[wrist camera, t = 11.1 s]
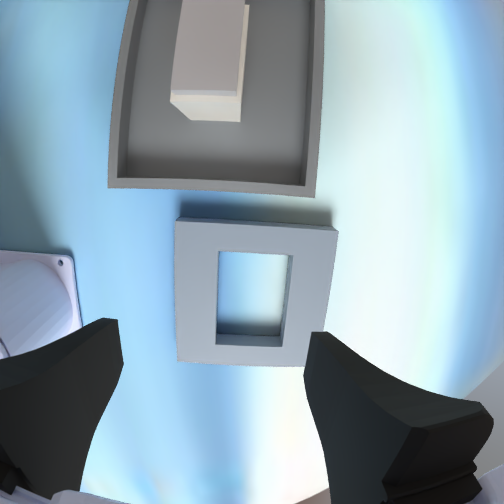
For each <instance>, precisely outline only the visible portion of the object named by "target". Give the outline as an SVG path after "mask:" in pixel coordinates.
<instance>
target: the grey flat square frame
mask: <svg viewBox="0 0 504 504" xmlns="http://www.w3.org/2000/svg"><path fill="white" fill-rule="evenodd" d="M338 232H339V231H337V230H336V229H335V228H333V227H331V226H318V225H304V224H290V223H276V222H260V221H244V220H226V219H208V218H187V217H179V218H178V219H177V220H176V221H175V243H174V274H175V320H176V344H177V361H179V362H190V363H203V364H219V365H238V366H273V367H305V364H306V359H307V354H308V348H309V343H310V337H311V332H323V328H324V323H325V317H326V312H327V306H328V300H329V294H330V288H331V282H332V275H333V269H334V262H335V255H336V247H337V240H338ZM219 251H225V252H243V253H261V254H279V255H289V261H288V271H287V280H286V289H285V298H284V306H283V314H282V323H281V331H280V336H254V335H232V334H217V301H218V273H219Z"/></svg>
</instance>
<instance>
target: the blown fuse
mask: <svg viewBox="0 0 504 504" xmlns="http://www.w3.org/2000/svg"><path fill="white" fill-rule="evenodd" d="M248 18H249V5H245V0H183V2H182V8H181V14H180V20H179V26H178V33H177V40H176V47H175V54H174V62H173V70H172V79H171V88H170V90H171V96H170V102H171V103H172V104H173V105H174V106H175V107H176V108H178V109H179V110H180V111H181V112H182V113H183V114H184V115H185V116H187V117H188V118H189V119H190V120H205V121H230V122H240V119H241V106H242V94H243V81H244V69H245V57H246V45H247V31H248Z"/></svg>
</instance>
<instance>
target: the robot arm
mask: <svg viewBox="0 0 504 504" xmlns="http://www.w3.org/2000/svg"><path fill="white" fill-rule="evenodd" d="M60 259H61V260H62V261H63V264H61V262H60ZM123 365H124V362H123V356H122V350H121V343H120V335H119V328H118V319H110V318H101V319H98V320H96V321H94V322H92V323H90V324H88V325H86V326H84V327H82V323H81V317H80V311H79V304H78V297H77V290H76V281H75V272H74V262H73V259H72V258H71V257H70V256H68V255H57V254H44V253H32V252H20V251H7V250H0V504H129V503H124V502H120V501H116V500H111V499H107V498H104V497H100V496H96V495H93V494H89V493H83V492H79V491H80V485H81V480H82V475H83V471H84V466H85V462H86V459H87V455H88V451H89V448H90V445H91V441H92V438H93V435H94V432H95V430H96V427H97V425H98V423H99V421H100V419H101V417H102V415H103V413H104V411H105V409H106V406H107V404H108V402H109V400H110V398H111V396H112V394H113V392H114V390H115V388H116V386H117V383H118V381H119V378H120V374H121V371H122V368H123ZM303 377H304V383H305V390H306V395H307V399H308V403H309V406H310V409H311V412H312V415H313V418H314V422H315V425H316V428H317V431H318V434H319V437H320V440H321V444H322V447H323V451H324V457H325V462H326V468H327V474H328V481H329V488H330V494H331V495H330V496H331V504H504V464H502V465H500V466H499V467H497V468H495V469H493V470H491V471H488V472H486V473H485V474H483V475H482V476H481V477H480V478H478V479H476V477H475V476H474V474H473V473H474V472H475V471H476V470H477V466H476V465H475V463H474V462H473V460H474V458H475V457H476V456H477V454H478V453H479V451H480V450H481V448H482V447H483V446H484V444H485V443H486V441H487V440H488V438H489V436H490V434H491V432H492V429H493V425H494V421H493V418H492V417H491V415H490V414H489V413H488V411H487V410H486V409H485V408H484V406H483V405H482V404H481V403H480V402H476V401H469V400H463V399H457V398H451V397H447V396H443V395H440V394H436V393H433V392H429V391H426V390H424V389H421V388H418V387H416V386H413V385H410V384H408V383H406V382H404V381H401V380H400V379H398V378H396V377H394V376H392V375H390V374H388V373H386V372H384V371H382V370H381V369H379V368H378V367H376V366H374V365H373V364H371V363H370V362H368V361H367V360H365V359H364V358H362V357H361V356H360V355H358V354H357V353H356V352H354V351H353V350H352V349H350V348H349V347H348V346H346V345H345V344H344V343H342V342H341V341H340V340H338V339H337V338H336V337H335V336H333V335H332V334H330V333H329V332H311V337H310V343H309V348H308V354H307V359H306V364H305V370H304V375H303Z"/></svg>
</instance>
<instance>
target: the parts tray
mask: <svg viewBox="0 0 504 504" xmlns="http://www.w3.org/2000/svg"><path fill="white" fill-rule="evenodd" d="M182 2H183V0H130V2H129V6H128V11H127V15H126V20H125V25H124V30H123V35H122V40H121V46H120V52H119V58H118V64H117V71H116V78H115V86H114V94H113V103H112V113H111V125H110V139H109V157H108V188H139V189H179V190H205V191H225V192H243V193H258V194H272V195H285V196H298V197H309V198H315V189H316V178H317V166H318V154H319V140H320V125H321V109H322V89H323V65H324V22H325V0H245V5H249V18H248V31H247V45H246V57H245V69H244V81H243V94H242V106H241V119H240V122H230V121H205V120H190V119H189V118H188V117H187V116H185V115H184V114H183V113H182V112H181V111H180V110H179V109H178V108H176V107H175V106H174V105H173V104H172V103H171V102H170V96H171V90H170V88H171V79H172V70H173V62H174V54H175V47H176V40H177V33H178V26H179V20H180V14H181V8H182Z"/></svg>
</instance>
